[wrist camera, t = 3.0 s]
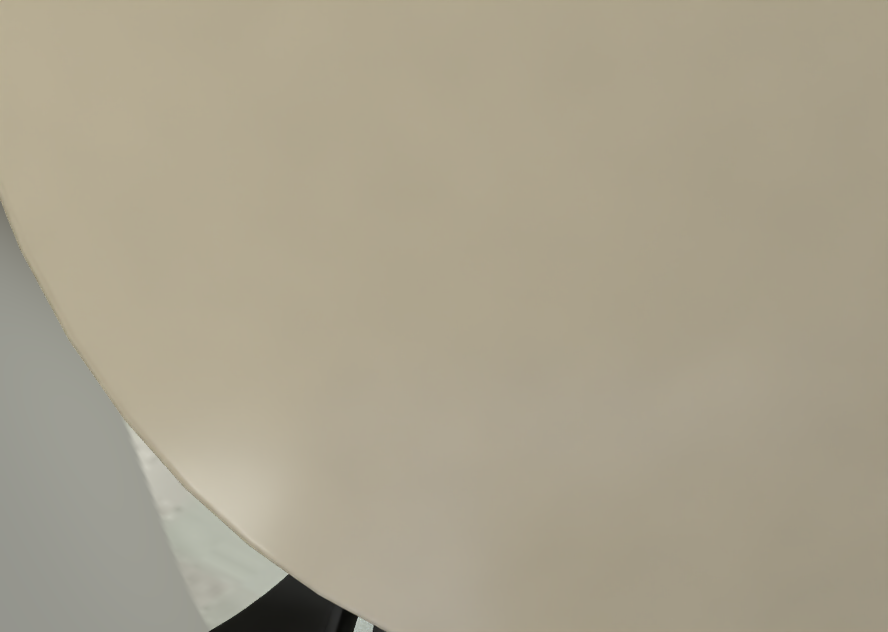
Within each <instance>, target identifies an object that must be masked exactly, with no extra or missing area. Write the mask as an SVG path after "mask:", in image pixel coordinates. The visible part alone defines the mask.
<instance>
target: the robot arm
mask: <svg viewBox="0 0 888 632" xmlns="http://www.w3.org/2000/svg"><path fill="white" fill-rule="evenodd" d="M357 618H358V616H357V615H355V614H353V613H351V612H349V611H347V610H346V609H344V608H342V607H340V606H338V605H336V604H335V603H333V602H331V601H329V600H327V599H325V598H324V597H322V596H320V595H318V594H317V593H315V592H314V591H313V590H311V589H310V588H308V587H307V586H305V585H304V584H303V583H301V582H300V581H298V580H297V579H296V578H294V577H293V576H291V575H290V574H288V575H287V576H286V577H285V578H284V579H283V580H282V581H280V582H279V583H278V584H277V585H276V586H274V587H273V588H272V589H271V590H270V591H268V592H267V593H266V594H265V595H263V596H262V597H260V598H259V599H258V600H256V601H255V602H254V603H252V604H251V605H250V606H248V607H247V608H246V609H244V610H243V611H241V612H240V613H238V614H237V615H235V616H234V617H232V618H231V619H229V620H227V621H226V622H224V623H222V624H221V625H219V626H217V627H216V628H214V629H212V630H211V631H209V632H353V631H354V628H355V625H356V621H357ZM373 632H386V631H384V630H382V629H380V628H379V627H377V626H375V625H374V627H373Z"/></svg>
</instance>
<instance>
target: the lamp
mask: <svg viewBox="0 0 888 632" xmlns="http://www.w3.org/2000/svg"><path fill="white" fill-rule="evenodd" d="M0 200H1V202H2V205H3V208H4V210H5V212H6V215H7V218H8V220H9V223H10V225H11V228H12V230H13V233H14V235H15V238H16V240H17V243H18V245H19V248H20V250H21V252H22V254H23V255H24V257H25V259H26V261H27V263H28V265H29V267H30V268H31V270H32V272H33V274H34V276H35V278H36V280H37V282H38V283H39V285H40V287H41V289H42V291H43V293H44V295H45V296H46V298H47V300H48V302H49V304H50V306H51V307H52V309H53V311H54V313H55V315H56V317H57V319H58V321H59V322H60V324H61V326H62V328H63V330H64V332H65V334H66V335H67V337H68V339H69V341H70V342H71V344H72V345H73V346H74V348H75V349H76V351H77V352H78V354H79V355H80V357H81V358H82V359H83V361H84V362H85V364H86V365H87V367H88V368H89V370H90V371H91V372H92V374H93V375H94V377H95V378H96V380H97V381H98V382H99V384H100V385H101V387H102V388H103V390H104V391H105V393H106V394H107V395H108V397H109V398H110V400H111V401H112V402H113V404H114V405H115V407H116V408H117V410H118V411H119V413H120V414H121V416H122V417H123V418H124V420H125V421H126V422H127V423H128V424H129V425H130V426H131V428H132V429H133V430H134V431H135V432H136V433H137V434H138V436H139V437H140V438H141V439H142V440H143V441H144V442H145V443H146V445H147V446H148V447H149V448H150V449H151V450H152V451H153V453H154V454H155V455H156V456H157V457H158V458H159V459H160V460H161V462H162V463H163V464H164V465H165V466H166V467H167V468H168V469H169V471H170V472H171V473H172V474H173V475H174V476H175V477H176V479H177V480H178V481H179V482H180V483H181V484H182V485H183V486H184V488H185V489H187V490H188V491H189V492H190V493H191V494H192V495H193V496H194V497H195V498H197V499H198V500H199V501H200V502H201V503H202V504H203V505H204V506H206V507H207V508H208V509H209V510H210V511H211V512H212V513H213V514H214V515H216V516H217V517H218V518H219V519H220V520H221V521H222V522H223V523H224V524H226V525H227V526H228V527H229V528H230V529H231V530H232V531H233V532H235V533H236V534H237V535H238V536H239V537H240V538H241V539H242V540H243V541H245V542H246V543H247V544H248V545H249V546H250V547H252V548H253V549H254V550H256V551H257V552H259V553H260V554H262V555H263V556H264V557H266V558H267V559H269V560H270V561H271V562H273V563H274V564H276V565H277V566H279V567H280V568H281V569H283V570H284V571H286V572H287V573H288V574H290V575H291V576H293V577H294V578H296V579H297V580H298V581H300V582H301V583H303V584H304V585H305V586H307V587H308V588H310V589H311V590H313V591H314V592H315V593H317V594H318V595H320V596H322V597H324V598H325V599H327V600H329V601H331V602H333V603H335V604H336V605H338V606H340V607H342V608H344V609H346V610H347V611H349V612H351V613H353V614H355V615H357V616H358V617H360V618H362V619H364V620H366V621H368V622H369V623H371V624H373V625H375V626H377V627H379V628H380V629H382V630H384V631H386V632H888V0H0Z"/></svg>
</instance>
